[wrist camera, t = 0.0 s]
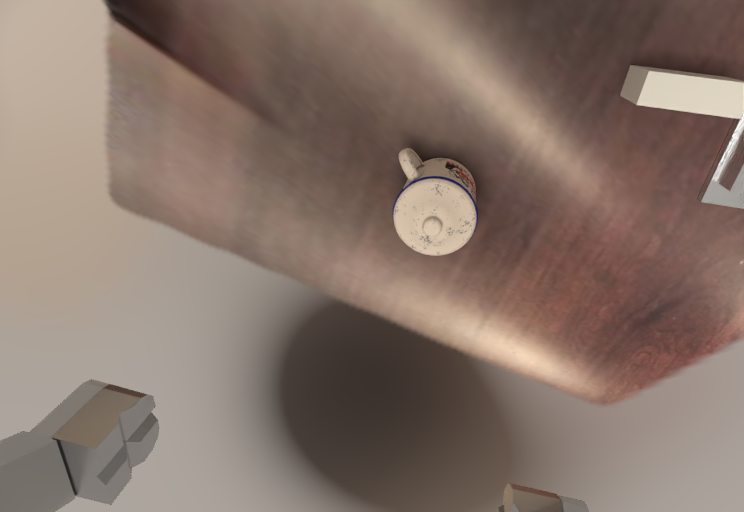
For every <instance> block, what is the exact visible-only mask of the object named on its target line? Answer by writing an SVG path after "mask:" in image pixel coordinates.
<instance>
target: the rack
mask: <svg viewBox="0 0 744 512" xmlns="http://www.w3.org/2000/svg"><path fill="white" fill-rule="evenodd" d="M697 199H698V200H699V201H701V202H705V203H711V204H718V205H724V206H730V207H736V208H743V209H744V112H743V114H742V116H741V119H737V118H735V120H734V122H733V124H732V126H731V128H730V130H729V132H728V135H727V137H726V139H725V141H724V143H723V145H722V147H721V149H720V152H719V154H718V156H717V158H716V160H715V162H714V164H713V166H712V168H711V171H710V173H709V175H708V177H707V179H706V181H705V183H704V185H703V188H702V190H701V192H700V194H699V196H698V198H697Z"/></svg>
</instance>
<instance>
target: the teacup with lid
mask: <svg viewBox="0 0 744 512" xmlns="http://www.w3.org/2000/svg"><path fill="white" fill-rule="evenodd" d="M399 161H400V164H401V166H402V169H403V171H404V172H405V174H406V176H407V177H408V179H407V182H406V184H405V186H404V188H403V190H402V191H401V192H400V194H399V195H398V197H397V199H396V201H395V204H394V208H393V222H394V226H395V229H396V231H397V233H398V235H399V236H400V238H401V239H402V240H403V241H404V243H405V244H407V245H408V246H409V247H410V248H412V249H413V250H415V251H417V252H420V253H423V254H427V255H445V254H449V253H452V252H454V251H456V250H458V249H459V248H461V247H462V246H464V245H465V244H466V243H467V242H468V241H469V240H470V238H471V237H472V235H473V233H474V231H475V229H476V226H477V221H478V212H477V207H476V186H475V182H474V179H473V177H472V175H471V174H470V172H469V171H468V170H467V169H466V168H465V167H464V166H463V165H462V164H460V163H458V162H457V161H454V160H451V159H447V158H434V159H430V160H427V161H425V162H422V161H421V159H420V158H419V156H418V155H417V154H416V153H415V152H414V151H413V150H412V149H410V148H405V149H404V150H402V151H401V152H400V153H399Z"/></svg>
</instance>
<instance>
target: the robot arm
mask: <svg viewBox="0 0 744 512" xmlns="http://www.w3.org/2000/svg"><path fill="white" fill-rule="evenodd" d="M154 408H155V402H154V398H153V396H151V395H147V394H144V393H140V392H136V391H133V390H129V389H125V388H122V387H118V386H115V385H111V384H107V383H104V382H100V381H96V380H92V379H91V380H89V381H87V382H85V383H83V384H82V385H80V386H79V387H78V388H77V389H76V390H75V391H74V392H73V393H72V394H71V395H69V396H68V397H67V398H66V399H65V400H64V401H63V402H62V403H61V404H60V405H58V406H57V407H56V408H55V409H54V410H53V411H52V412H51V413H50V414H49V415H48V416H47V417H45V418H44V419H43V420H42V421H41V422H40V423H39V424H38V425H37V426H36V427H34V428H33V429H32V430H31V431H30V432H25V431H22V432H20V433H17V434H15V435H13V436H10V437H8V438H6V439H3V440H1V441H0V512H55V511H57V510H58V509H60V508H61V507H63V506H64V505H66V504H68V503H69V502H71V501H72V500H74V499H75V496H78V497H82V498H86V499H90V500H94V501H98V502H102V503H106V504H110V505H111V504H112V503H113V502H114V500H115V499H116V498H117V496H118V495H119V494H120V492H121V491H122V490H123V489H124V487H125V486H126V485H127V483H128V482H129V481H130V479H131V473H132V472H131V471H132V467H134V466H136V465H138V464H140V463H142V462H144V461H145V459H146V458H147V457H148V455H149V454H150V452H151V451H152V450H153V447H154V445H155V442H156V440H157V438H158V432H159V424H158V420H157V419H156V417H155V416H154V415H153V414H152V413H151V411H152V410H153V409H154ZM497 512H589V510H588V507H587V505H586V504H585V502H584V501H581V500H577V499H572V498H568V497H564V496H560V495H557V494H554V493H549V492H546V491H541V490H537V489H533V488H528V487H524V486H520V485H516V484H511V483H509V484H508V485H507V486H506V489H505V491H504V504H503V505H501V506H499V507H498V510H497Z"/></svg>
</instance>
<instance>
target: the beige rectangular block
mask: <svg viewBox="0 0 744 512" xmlns="http://www.w3.org/2000/svg"><path fill="white" fill-rule="evenodd" d="M620 96H622V97H623V98H625V99H627V100H629V101H630V102H632V103H634V104H636V105H641V106H648V107H656V108H663V109H670V110H678V111H685V112H692V113H700V114H707V115H714V116H722V117H729V118H737V119H741V116H742V114H743V112H744V81H741V80H737V79H733V78H729V77H724V76H716V75H708V74H700V73H692V72H684V71H676V70H668V69H660V68H652V67H644V66H636V65H630V68H629V70H628V73H627V76H626V79H625V82H624V85H623V88H622V91H621V94H620Z"/></svg>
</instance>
